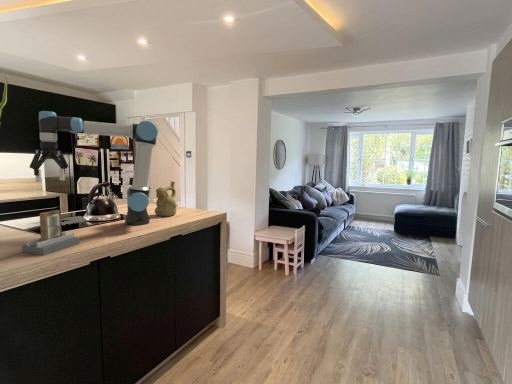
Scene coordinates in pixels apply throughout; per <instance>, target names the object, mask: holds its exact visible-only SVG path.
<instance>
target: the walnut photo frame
mask: <svg viewBox="0 0 512 384" xmlns="http://www.w3.org/2000/svg"><path fill="white" fill-rule="evenodd" d="M61 219H62V211H61V210H60V209H54V210H49V211H44V212H40V213H39V226H40V228H39V229H40V238H41V242H42V241H46V240H49V239H53V238H57V237H60V236H62V232H63V231H62V226H61Z"/></svg>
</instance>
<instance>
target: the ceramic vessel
mask: <svg viewBox="0 0 512 384" xmlns="http://www.w3.org/2000/svg"><path fill="white" fill-rule="evenodd" d="M175 183H176V181H173V180H172V181H170V186H166V187H163V186H161V187H158V188H156V190H155V192H156V198H157V199H156V203H155V204H156V208H155V209H154V213H155V215H156V216H158V215H159V217H166V216H167V217H171V216H172V215H173V216H175V215H176V214H177V207H178V206H177V202H176V200H175V197H176V194H177V193H176V189H175V185H176V184H175ZM168 191H171V195H170V194H169V192H168ZM173 216H172V217H173Z"/></svg>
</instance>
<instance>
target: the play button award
mask: <svg viewBox="0 0 512 384" xmlns="http://www.w3.org/2000/svg"><path fill="white" fill-rule="evenodd" d="M84 217H85V216H81V215H78V216H77V215H76V216H71V217H69V216H68V217H61V225H62V226H67V225H66V224H68V225H72V224H73V223H74V224H78V223H85V222H84V221H86V222H88V221H87V220H86V219H84ZM62 221H64V222H62Z"/></svg>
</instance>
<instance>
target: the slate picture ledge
mask: <svg viewBox="0 0 512 384" xmlns="http://www.w3.org/2000/svg"><path fill="white" fill-rule="evenodd" d="M79 244H80V237H76V236H75V233H74V232H73V233H67V234H66V232H65V231H62V236H60V237H57V238H53V239H49V240H46V241H42V242H41V237H40V238H39V237H38V238H36V239H32V240H28V241H26V244H24V245H22V253H27V254H32V255H33V254H34V255H42V256H46V255H49V254H52V253H55V252H58V251H61V250H64V249H67V248H70V247H73V246H77V245H79Z"/></svg>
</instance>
